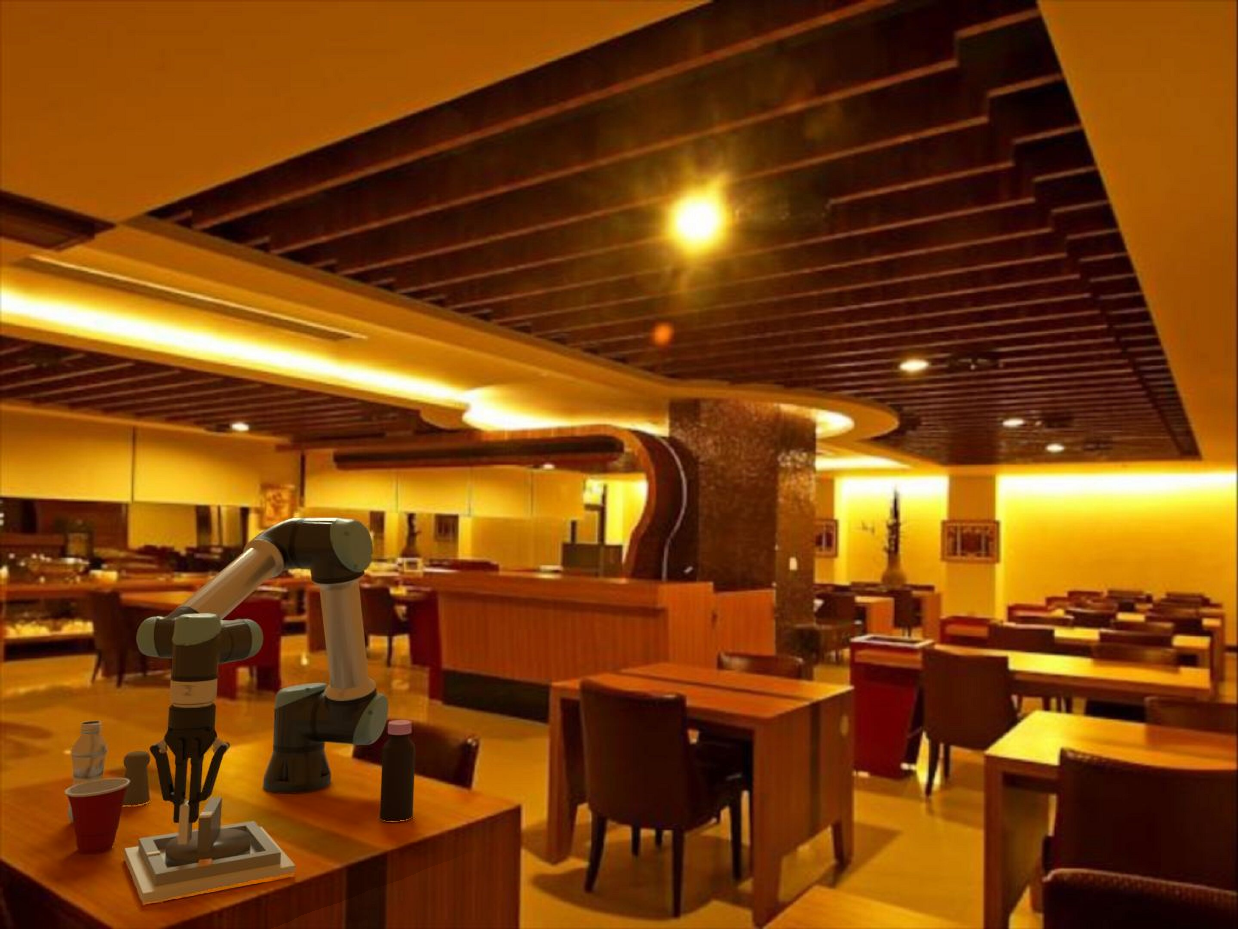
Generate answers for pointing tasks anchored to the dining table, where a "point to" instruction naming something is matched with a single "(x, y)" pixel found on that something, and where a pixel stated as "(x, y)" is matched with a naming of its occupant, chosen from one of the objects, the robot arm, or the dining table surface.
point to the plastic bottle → (88, 755)
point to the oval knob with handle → (208, 840)
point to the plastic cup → (97, 812)
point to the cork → (137, 777)
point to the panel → (199, 883)
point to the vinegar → (397, 773)
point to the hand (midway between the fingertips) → (184, 841)
